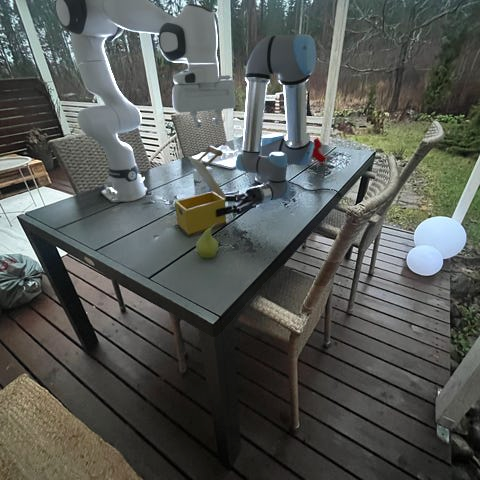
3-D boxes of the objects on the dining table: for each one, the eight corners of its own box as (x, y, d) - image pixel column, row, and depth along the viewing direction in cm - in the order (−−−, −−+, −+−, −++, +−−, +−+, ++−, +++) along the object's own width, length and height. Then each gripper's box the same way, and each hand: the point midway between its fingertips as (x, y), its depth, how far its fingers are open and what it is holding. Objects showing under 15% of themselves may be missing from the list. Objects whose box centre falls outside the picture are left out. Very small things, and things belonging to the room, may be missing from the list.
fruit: (195, 252, 89) (191, 220, 82) (216, 247, 91) (214, 216, 85) (200, 264, 84) (196, 230, 77) (223, 258, 86) (221, 225, 79)
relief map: (231, 168, 161) (231, 160, 158) (189, 159, 179) (189, 151, 176) (257, 158, 179) (257, 150, 176) (217, 150, 197) (216, 142, 194)
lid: (200, 164, 87) (220, 145, 88) (187, 157, 93) (206, 140, 94) (224, 198, 99) (241, 181, 100) (211, 190, 105) (228, 174, 106)
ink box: (208, 188, 135) (206, 165, 129) (214, 191, 132) (213, 167, 126) (194, 193, 130) (191, 169, 124) (200, 196, 127) (198, 172, 121)
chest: (188, 237, 97) (185, 210, 91) (178, 226, 104) (174, 201, 98) (226, 224, 105) (225, 199, 99) (214, 215, 111) (212, 191, 105)
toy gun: (330, 157, 167) (317, 136, 163) (329, 159, 164) (317, 138, 160) (304, 172, 177) (292, 153, 173) (303, 174, 174) (291, 155, 170)
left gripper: (228, 74, 87) (229, 121, 94) (167, 76, 78) (173, 127, 85) (239, 75, 82) (239, 124, 90) (175, 76, 73) (181, 131, 81)
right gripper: (243, 178, 119) (196, 189, 109) (275, 195, 103) (224, 210, 93) (243, 194, 123) (198, 206, 113) (274, 213, 107) (225, 229, 97)
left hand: (207, 125), depth 87 cm, fingers open, 5 cm apart
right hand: (210, 208), depth 103 cm, fingers closed on chest, 9 cm apart
